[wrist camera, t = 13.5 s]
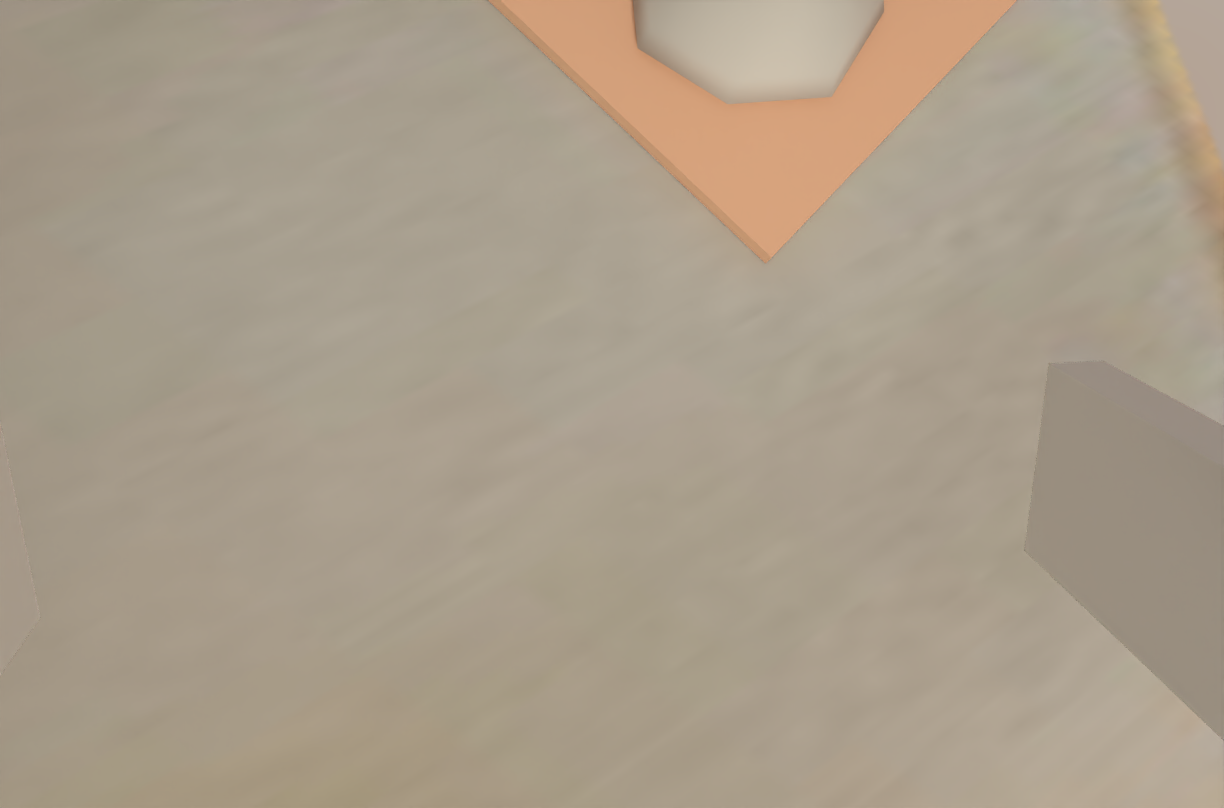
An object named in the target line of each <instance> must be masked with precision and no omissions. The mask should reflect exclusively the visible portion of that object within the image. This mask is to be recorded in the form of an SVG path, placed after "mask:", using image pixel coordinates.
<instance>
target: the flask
mask: <svg viewBox="0 0 1224 808" xmlns="http://www.w3.org/2000/svg"><path fill="white" fill-rule="evenodd" d="M633 6H634V17H635V27H636V38H637V48H638V49H640V50H641V51H643V52H644V53H646V54H648V55H649V56H651V57H652V58H654V59H656V60H657V61H659V62H660V63H662V64H664V65H665V66H667V67H669V68H670V69H672V70H673V71H675V72H677V73H678V74H680V75H681V76H683V77H685V78H686V79H688V80H689V81H691V82H693V83H694V84H696V85H697V86H699V87H701V88H702V89H704V90H705V91H707V92H709V93H710V94H712V95H714V96H715V97H717V98H718V99H720V100H722V101H723V102H725V103H726V104H738V103H752V102H767V101H781V100H796V99H810V98H824V97H832V96H833V94H834V92H835V91H836V89H837V87H838V86H839V84H840V83H841V81H842V79H843V78H844V76H845V74H846V73H847V71H848V70H849V68H850V66H851V65H852V63H853V61H854V60H855V58H856V57H857V55H858V53H859V52H860V50H861V48H862V47H863V45H864V44H865V42H866V40H867V39H868V37H869V35H870V34H871V32H872V31H873V29H874V27H875V26H876V24H877V23H878V21H879V19H880V18H881V16H882V14H883V13H884V0H633Z"/></svg>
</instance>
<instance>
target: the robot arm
mask: <svg viewBox="0 0 1224 808" xmlns="http://www.w3.org/2000/svg"><path fill="white" fill-rule="evenodd" d="M1024 551H1025V552H1026V553H1027V554H1028V555H1029V556H1030V557H1031V558H1033V559H1034V560H1035V561H1036V562H1037V563H1038V564H1039V565H1040V566H1041V567H1042V568H1043V569H1044V570H1045V571H1046V572H1047V573H1048V574H1049V575H1050V576H1051V577H1052V578H1054V579H1055V580H1056V581H1057V582H1058V583H1059V584H1060V585H1061V586H1062V587H1063V588H1064V589H1065V590H1066V591H1067V592H1068V593H1069V594H1070V595H1071V596H1072V597H1073V598H1075V599H1076V600H1077V601H1078V602H1079V603H1080V604H1081V605H1082V606H1083V607H1084V608H1085V609H1086V610H1087V611H1088V612H1089V613H1090V614H1091V615H1092V616H1093V617H1094V618H1096V619H1097V620H1098V621H1099V622H1100V623H1101V624H1102V625H1103V626H1104V627H1105V628H1106V629H1107V630H1108V631H1109V632H1110V633H1111V634H1112V635H1113V636H1114V637H1115V638H1117V639H1118V640H1119V641H1120V642H1121V643H1122V644H1123V645H1124V646H1125V647H1126V648H1127V649H1128V650H1129V651H1130V652H1131V653H1132V654H1133V655H1134V656H1135V657H1137V658H1138V659H1139V660H1140V661H1141V662H1142V663H1143V664H1144V665H1145V666H1146V667H1147V668H1148V669H1149V670H1150V671H1151V672H1152V673H1153V674H1154V675H1155V676H1156V677H1158V678H1159V679H1160V680H1161V681H1162V682H1163V683H1164V684H1165V685H1166V686H1167V687H1168V688H1169V689H1170V690H1171V691H1172V692H1173V693H1174V694H1175V695H1176V696H1177V697H1179V698H1180V699H1181V700H1182V701H1183V702H1184V703H1185V704H1186V705H1187V706H1188V707H1189V708H1190V709H1191V710H1192V711H1193V712H1194V713H1195V714H1196V715H1197V716H1198V717H1200V718H1201V719H1202V720H1203V721H1204V722H1205V723H1206V724H1207V725H1208V726H1209V727H1210V728H1211V729H1212V730H1213V731H1214V732H1215V733H1216V734H1217V735H1218V736H1219V737H1221V738H1222V739H1223V740H1224V426H1223V425H1221V424H1220V423H1218V422H1216V421H1214V420H1212V419H1210V418H1209V417H1207V416H1205V415H1203V414H1201V413H1199V412H1197V411H1196V410H1194V409H1192V408H1190V407H1188V406H1186V405H1184V404H1183V403H1181V402H1179V401H1177V400H1175V399H1173V398H1171V397H1170V396H1168V395H1166V394H1164V393H1162V392H1160V391H1159V390H1157V389H1155V388H1153V387H1151V386H1149V385H1147V384H1146V383H1144V382H1142V381H1140V380H1138V379H1136V378H1134V377H1133V376H1131V375H1129V374H1127V373H1125V372H1123V371H1121V370H1120V369H1118V368H1116V367H1114V366H1112V365H1110V364H1109V363H1107V362H1105V361H1085V362H1064V363H1049V366H1048V373H1047V381H1046V389H1045V396H1044V404H1043V411H1042V419H1041V427H1040V434H1039V442H1038V449H1037V457H1036V465H1035V472H1034V480H1033V488H1032V495H1031V503H1030V510H1029V518H1028V526H1027V533H1026V541H1025V549H1024ZM39 619H40V613H39V608H38V603H37V598H36V593H35V589H34V584H33V579H32V574H31V569H30V564H29V559H28V554H27V549H26V544H25V540H24V535H23V530H22V525H21V520H20V515H19V510H18V505H17V500H16V495H15V491H14V486H13V481H12V476H11V471H10V466H9V461H8V456H7V451H6V446H5V441H4V437H3V432H2V427H1V422H0V676H1V674H2V673H3V671H4V670H5V668H6V667H7V665H8V664H9V663H10V661H11V660H12V658H13V657H14V655H15V654H16V652H17V651H18V650H19V648H20V647H21V645H22V644H23V642H24V641H25V639H26V638H27V637H28V635H29V634H30V632H31V631H32V629H33V628H34V627H35V625H36V624H37V622H38V621H39Z"/></svg>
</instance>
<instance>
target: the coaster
mask: <svg viewBox="0 0 1224 808" xmlns="http://www.w3.org/2000/svg"><path fill="white" fill-rule="evenodd" d="M488 1H489V2H490V3H491V4H493V5H494V6H495V7H496V8H497V9H498V10H499V11H500V12H501V13H502V14H503V15H504V16H505V17H506V18H507V19H508V20H509V21H510V22H512V23H513V24H514V25H515V26H516V27H517V28H518V29H519V30H520V31H521V32H522V33H523V34H524V35H525V36H526V37H527V38H528V39H529V40H531V41H532V42H533V43H534V44H535V45H536V46H537V47H538V48H539V49H540V50H541V51H542V52H543V53H544V54H545V55H546V56H547V57H548V58H550V59H551V60H552V61H553V62H554V63H555V64H556V65H557V66H558V67H559V68H560V69H561V70H562V71H563V72H564V73H565V74H566V75H567V76H569V77H570V78H571V79H572V80H573V81H574V82H575V83H576V84H577V85H578V86H579V87H580V88H581V89H582V90H583V91H584V92H585V93H586V94H587V95H589V96H590V97H591V98H592V99H593V100H594V101H595V102H596V103H597V104H598V105H599V106H600V107H601V108H602V109H603V110H604V111H605V112H606V113H608V114H609V115H610V116H611V117H612V118H613V119H614V120H615V121H616V122H617V123H618V124H619V125H620V126H621V127H622V128H623V129H624V130H625V131H627V132H628V133H629V134H630V135H631V136H632V137H633V138H634V139H635V140H636V141H637V142H638V143H639V144H640V145H641V146H642V147H643V148H644V149H646V150H647V151H648V152H649V153H650V154H651V155H652V156H653V157H654V158H655V159H656V160H657V161H658V162H659V163H660V164H661V165H662V166H663V167H665V168H666V169H667V170H668V171H669V172H670V173H671V174H672V175H673V176H674V177H675V178H676V179H677V180H678V181H679V182H680V183H681V184H682V185H683V186H685V187H686V188H687V189H688V190H689V191H690V192H691V193H692V194H693V195H694V196H695V197H696V198H697V199H698V200H699V201H700V202H701V203H702V204H704V205H705V206H706V207H707V208H708V209H709V210H710V211H711V212H712V213H713V214H714V215H715V216H716V217H717V218H718V219H719V220H720V221H721V222H723V223H724V224H725V225H726V226H727V227H728V228H729V229H730V230H731V231H732V232H733V233H734V234H735V235H736V236H737V237H738V238H739V239H740V240H742V241H743V242H744V243H745V244H746V245H747V246H748V247H749V248H750V249H751V250H752V251H753V252H754V253H755V254H756V255H757V256H758V257H759V258H761V259H762V260H763V261H764V262H765V263H767V262H768V261H769V260H770V259H771V258H772V257H773V256H774V254H775V253H776V252H777V251H778V250H779V249H780V248H781V247H782V246H783V245H784V244H785V243H786V242H787V241H788V240H789V239H790V238H791V237H792V236H793V235H794V234H795V232H796V231H797V230H798V229H799V228H800V227H801V226H802V225H803V224H804V223H805V222H806V221H807V220H808V219H809V218H810V217H811V216H812V215H813V214H814V213H815V211H816V210H817V209H818V208H819V207H820V206H821V205H822V204H823V203H824V202H825V201H826V200H827V199H828V198H829V197H830V196H831V195H832V194H833V193H834V192H835V191H836V189H837V188H838V187H839V186H840V185H841V184H842V183H843V182H844V181H845V180H846V179H847V178H848V177H849V176H850V175H851V174H852V173H853V172H854V171H855V170H856V168H857V167H858V166H859V165H860V164H861V163H862V162H863V161H864V160H865V159H866V158H867V157H868V156H869V155H870V154H871V153H872V152H873V151H874V150H875V149H876V148H877V146H878V145H879V144H880V143H881V142H882V141H883V140H884V139H885V138H886V137H887V136H888V135H889V134H890V133H891V132H892V131H893V130H894V129H895V128H896V127H897V126H898V124H899V123H900V122H901V121H902V120H903V119H904V118H905V117H906V116H907V115H908V114H909V113H910V112H911V111H912V110H913V109H914V108H915V107H916V106H917V105H918V103H919V102H920V101H921V100H922V99H923V98H924V97H925V96H926V95H927V94H928V93H929V92H930V91H931V90H932V89H933V88H934V87H935V86H936V85H937V84H938V83H939V81H940V80H941V79H942V78H943V77H944V76H945V75H946V74H947V73H948V72H949V71H950V70H951V69H952V68H953V67H954V66H955V65H956V64H957V63H958V62H959V61H960V59H961V58H962V57H963V56H964V55H965V54H966V53H967V52H968V51H969V50H970V49H971V48H972V47H973V46H974V45H975V44H976V43H977V42H978V41H979V40H980V38H981V37H982V36H983V35H984V34H985V33H986V32H987V31H988V30H989V29H990V28H991V27H992V26H993V25H994V24H995V23H996V22H997V21H998V20H999V19H1000V18H1001V16H1002V15H1003V14H1004V13H1005V12H1006V11H1007V10H1008V9H1009V8H1010V7H1011V6H1012V5H1013V4H1014V3H1015V2H1016V1H1017V0H884V13H883V14H882V16H881V18H880V19H879V21H878V23H877V24H876V26H875V27H874V29H873V31H872V32H871V34H870V35H869V37H868V39H867V40H866V42H865V44H864V45H863V47H862V48H861V50H860V52H859V53H858V55H857V57H856V58H855V60H854V61H853V63H852V65H851V66H850V68H849V70H848V71H847V73H846V74H845V76H844V78H843V79H842V81H841V83H840V84H839V86H838V87H837V89H836V91H835V92H834V94H833V96H832V97H824V98H810V99H796V100H781V101H767V102H752V103H738V104H726V103H725V102H723V101H722V100H720V99H718V98H717V97H715V96H714V95H712V94H710V93H709V92H707V91H705V90H704V89H702V88H701V87H699V86H697V85H696V84H694V83H693V82H691V81H689V80H688V79H686V78H685V77H683V76H681V75H680V74H678V73H677V72H675V71H673V70H672V69H670V68H669V67H667V66H665V65H664V64H662V63H660V62H659V61H657V60H656V59H654V58H652V57H651V56H649V55H648V54H646V53H644V52H643V51H641V50H640V49H638V48H637V38H636V27H635V17H634V6H633V0H488Z"/></svg>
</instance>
